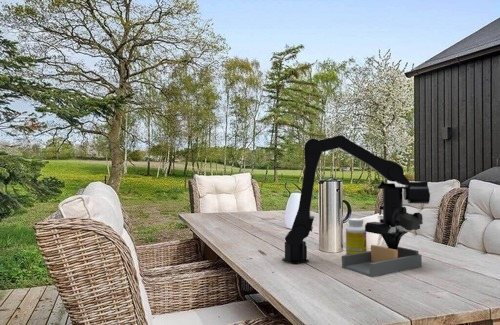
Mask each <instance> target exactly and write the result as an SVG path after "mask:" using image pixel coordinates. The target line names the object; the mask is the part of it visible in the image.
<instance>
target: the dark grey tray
mask: <svg viewBox="0 0 500 325" xmlns="http://www.w3.org/2000/svg"><path fill="white" fill-rule="evenodd" d="M397 250H398V258H396V259H390V260H385V261H380V262H372V261H371V250H370V251H369V250H368V251H367V252H361V253H355V254H349V255H346V254H343V255H341V269H345V270H348V271H351V272H355V273H358V274H361V275H364V276H367V277H371V278H374V277H375V278H376V277H380V276H385V275H389V274H394V273H399V272H402V271H403V272H404V271H407V270H409V271H410V270H412V269H417V268H421V267H423V266H422V264H423V263H422V262H423V261H422V260H423V259H422V254H421V253H420V254H419V250H417V249H413V248H407V247H403V246H398V247H397Z"/></svg>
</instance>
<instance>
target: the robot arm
mask: <svg viewBox="0 0 500 325" xmlns="http://www.w3.org/2000/svg"><path fill="white" fill-rule="evenodd" d="M303 146H304V147H303V149H304V150H303V151H304V152H303V154H304V170H303V172H304V173H303V178H302V179H303V180H302V185H301V191H300V197H299V205H298V209H297V211H296V215H295V217H294V220H293V224H292V227H291V230H290V231H289V232H287V234H286V235H285V238H284V240H285V242H284V257H283V258H281V260H282V261H284V262H287V263H290V264H293V265H294V264H301V263H306V262H307V263H308V262H310V259H307V258H308V252H307V251H308V250H307V249H308V247H307V243H306V241H305V239H306V238H307V237H309V235H310V233H311V232H313V230H314V227H313V223H314V219H315V216H314V215H311V205H312V200H313V192H314V187H315V180H316V173H317V168H318V165H319V163H320V160H321V157H322V154H323V152H327V151H328V152H329V151H332V150H336V149H340V150H343V152H345V153H347V154H348V155H351V156H352V157H353V158H355V159H358V160H359V161H360V162H363V163H365V165H368V166H370V167H371V168H372V169H373V170H374V171H376V173H377V174H378V175H380V176H381V177H382V178H383V179H385V180H386V181H389V182H391V183H389V182H384V181H383V180H380V182H379V183H378V184H377V185H376V186H375V187H376V189H379V190H382V205H380V206H379V209H380V210H382V218H381V219H379V222H378V221H370V222H368V221H367V222H366V223H365V225H364V227H365V232H366V233H369V234H370V233H371V234H377V235H381V237H382V239H383V241H384V242H385V244H386V247H387V248H390V249H395V250H397V247H399V246H400V245H399V244H400V241H401V239H402V237H403V236H405V235H406V234H408V233H409V231H410V232H411V231H414V230H415V231H418V230H420V229H421V225H423V224H424V223H423V213H421V212H413V213H409V212H407V207H406V206H404V205H403V200H404V201H407V203H408V204H420V205H421V204H422V205H423V204H424V205H427V204H429V203H430V199H431V192H430V188H429V186H428V185H429V184H428V183H429V182H428V181H426V180H425V181H423V180H422V181H410V180H409V178H407V177H406V175H405V174H404V172H405V171H404V168H403V166H402V165H400V164H399V163H397V162H395V161H391V160H389V159H385V158H383V157H380V156H378V155H376V154H375V153H373V152H370V151H369V150H367V149H366V148H364V147H362V146H360V145H359V144H357V143H355V142H354V141H352V140H350V139H349V138H347V137H345V136H344V135H342V134H339V135H336V136H333V137H328V138H324V139H320V140H319V139H318V138H309V139H308V140H307V141H306V142H305V144H304V145H303ZM394 182H396V183H397V184H399V185H401V186H396V183H394Z"/></svg>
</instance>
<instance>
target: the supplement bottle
mask: <svg viewBox="0 0 500 325" xmlns="http://www.w3.org/2000/svg"><path fill="white" fill-rule="evenodd" d="M363 224H364V219H362V218H357V217H356V218H354V217H353V218H349V219H348V226H347V227H346V228H345V255H349V254H355V253H361V252H367V232H365V226H363Z"/></svg>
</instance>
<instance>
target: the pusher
mask: <svg viewBox="0 0 500 325" xmlns="http://www.w3.org/2000/svg"><path fill="white" fill-rule="evenodd" d="M370 251H371V261H372V262H380V261H385V260H390V259H396V258H398V250H395V249H390V248H388V247H387V246H386V247H385V246H381V245H377V244H371V245H370Z"/></svg>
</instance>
